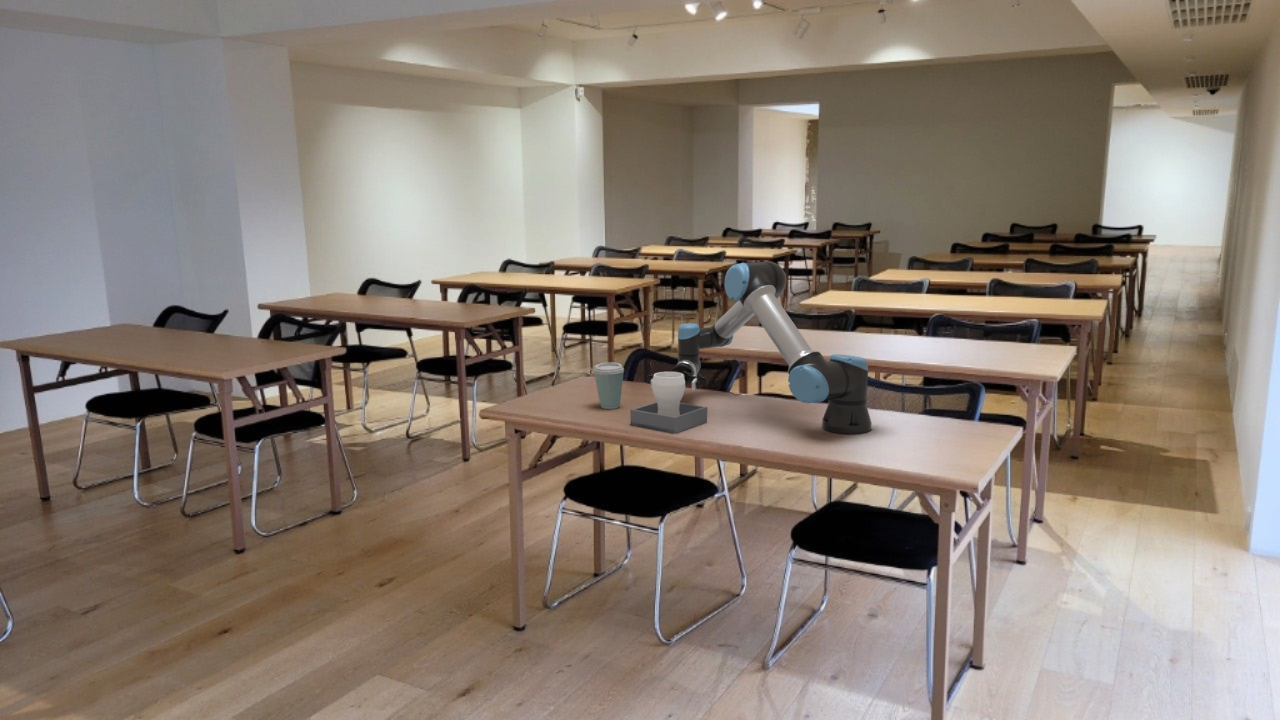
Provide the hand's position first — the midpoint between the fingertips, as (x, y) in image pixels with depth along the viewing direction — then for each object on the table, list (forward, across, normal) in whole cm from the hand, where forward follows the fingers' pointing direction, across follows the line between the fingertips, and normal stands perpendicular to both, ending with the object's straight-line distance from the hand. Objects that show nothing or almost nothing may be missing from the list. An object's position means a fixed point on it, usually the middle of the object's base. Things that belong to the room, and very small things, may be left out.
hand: (672, 385), depth 299 cm
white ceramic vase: (+6, 0, -10) cm, 12 cm away
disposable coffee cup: (-12, +24, -11) cm, 29 cm away
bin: (+6, 0, -11) cm, 13 cm away
